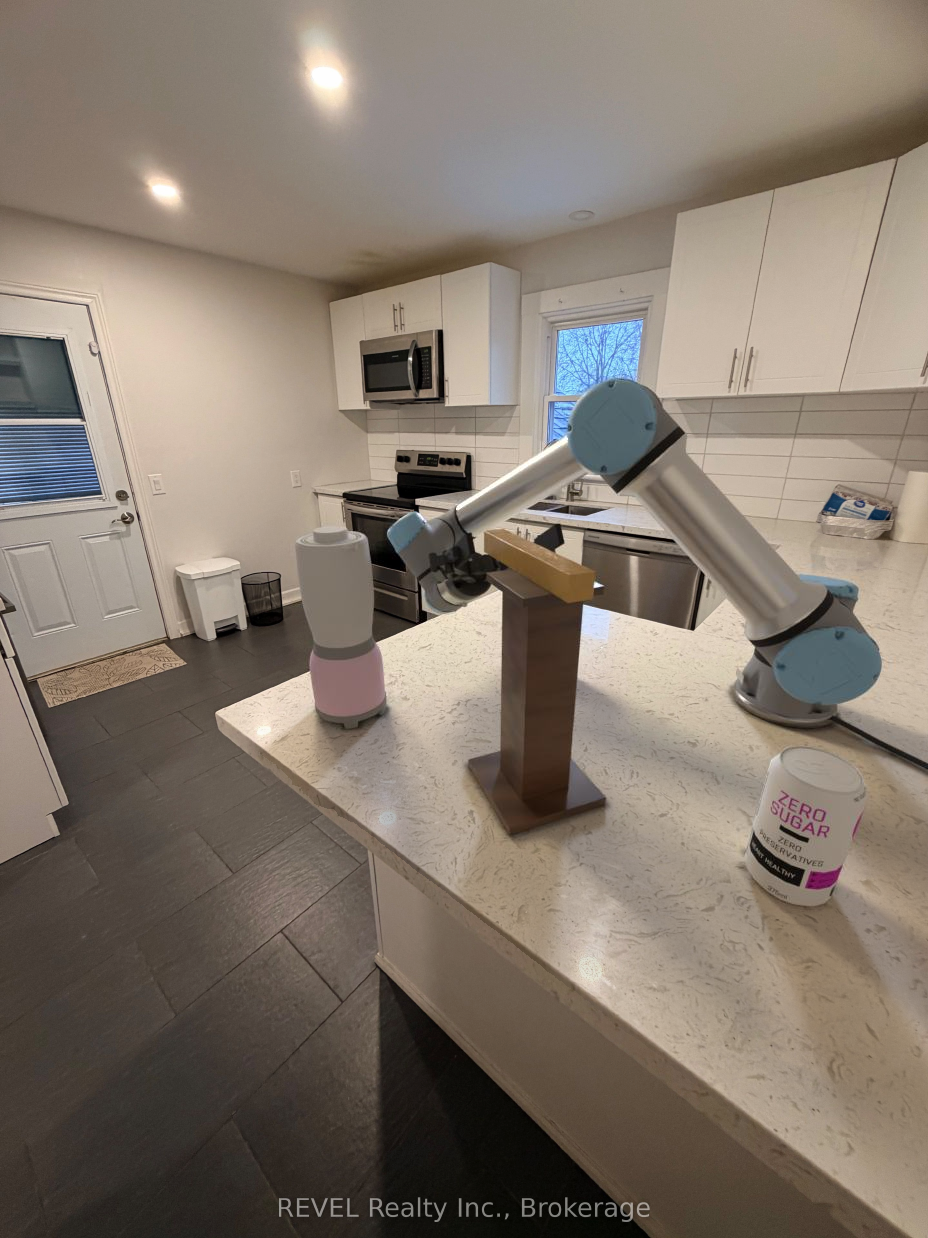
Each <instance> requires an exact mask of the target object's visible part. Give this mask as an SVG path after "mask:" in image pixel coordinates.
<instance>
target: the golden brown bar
mask: <svg viewBox="0 0 928 1238" xmlns="http://www.w3.org/2000/svg"><path fill="white" fill-rule="evenodd" d="M533 542H534V541H531V540H528V539H526V538H525V537H522V536H520V535H517V534H515V533H514V532H512V531H509V530H507V529H505V528H499V529H491V530H487V531H484V534H483V552H484V554H488V555H490V556H492V557H493V558H495V559H497V560H498V561H500V562H502V563H503V564H505V565H506V566H508V567H510V568H511V569H513V570H515V571H516V572H518V573H520V574H521V575H523V576H524V577H526V578H528V579H529V580H531V581H533V582H534V583H536V584H538V585H539V586H541V587H543V588H544V589H546V590H547V591H549V592H551V593H552V594H554V595H556V596H557V597H559V598H561V599H562V600H564V601H566V602H567V603H572V602H578V601H583V602H585V601H589V600H594V596H593V593H594V582H596V581H595V580H596V571H595V570H593V569H591V568H589V567H587V566H584V565H583V564H580V563H578V562H576V561H574V560H571V559H570V558H567V557H566V556H563V555H561V554H559V553H557V552H556V553H554V552H552V551H550V550H548V549H546V548H544V547H541V546H539V545H537V544H535V543H533Z"/></svg>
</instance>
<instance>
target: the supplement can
mask: <svg viewBox="0 0 928 1238" xmlns="http://www.w3.org/2000/svg"><path fill="white" fill-rule="evenodd" d="M868 794H869V792H868V789H867V787H866V784H865V777H864V776H863V774H862V772H861V771H860V769H859V768H858V767H857V766H855V765H854V764H853V763H852V762H851V761H850V760H847V759H846V758H845V757H843V756H841V755H839V754H836V753H834V752H831V751H829V750H827V749H825V748H820V747H815V746H812V745H803V744H802V745H801V744H800V745H799V744H798V745H797V744H796V745H790V746H786V747H784V748H783V749H782V750H780V753H778V754H776V756H774V757H773V758H771V760H770V761H769V765H768V768H767V771H766V776H765V779H764V783H763V787H762V791H761V794H760V798H759V802H758V805H757V809H756V813H755V815H754V819H753V823H752V826H751V827H752V828H751V830H750V834H749V838H748V841H747V846H746V849H745V853H744V857H743V858H744V862H745V867H746V869H747V871H748V872H749V874H750V876H751V877H752V878H753V879H754V881H756V883H757V884H758V885H759V886H761V888H762V889H764V890H765V891H766V892H767V893H769V894H770V895H772V896H774V897H775V898H777V899H779V900H781V901H784V902H786V903H789V904H792V905H796V906H804V907H815V906H820V905H825V904H826V902H828V900H830V899H831V898H832V895H833V893H834V890H835V887H836V886H837V885H836V884H837V882H838V879H839V877H840V874H841V872H842V869H843V867H844V864H845V861H846V858H847V856H848V853H849V850H850V848H851V845H852V842H853V840H854V837H855V835H856V832H857V829H858V828H859V824H860V821H861V819H862V816H863V813H864V811H865V809H866V806H867V803H868V796H869V795H868Z"/></svg>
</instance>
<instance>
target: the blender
mask: <svg viewBox="0 0 928 1238" xmlns="http://www.w3.org/2000/svg"><path fill="white" fill-rule="evenodd" d="M294 548H295V559H296V560H295V561H296V571H297V578H298V586H299V591H300V599H301V603H302V607H303V611H304V615H305V618H306V619H307V620H306V621H307V623H308V626H309V629H310V632H311V636H312V639H313V646H312V650H311V653H310V657H309V675H310V681H311V687H312V692H313V693H312V694H313V698H314V708H315V712H316V714H317V716H318V717H320V718H321V719H322V720H324V721H327V722H330V723H336V724H343V726H344V729H346V730H347V729H348V730H349V729H350V730H351V729H355V728H359V722H362V721H364V720H367V719H370V718H372V717H374V716H375V715H377V714H378V715H380V716H382V715H384V713H385V711H386V709H387V692H386V686H385V672H384V662H383V655H382V652H381V649H380V646H379V645H378V644H377V642H376V641H375V639H374V635H373V622H374V610H375V609H374V608H375V607H374V606H375V591H374V589H375V587H374V578H373V567H372V559H371V554H370V546H369V539H368V537H367V536H366V535H365V534H364V533H362V532H359V531H352V530H348V528H347V527H346V526H344V525H343V526H342V525H326V526H320V527H316V528H314V529H313V531H312V533H309V534H306V535H303V536H300V537H298V538H297V539H296V540H295V542H294Z"/></svg>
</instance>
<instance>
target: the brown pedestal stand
mask: <svg viewBox="0 0 928 1238" xmlns="http://www.w3.org/2000/svg"><path fill="white" fill-rule="evenodd" d="M486 580H487V581H488V582H489V583H491V584H492V585H491V586H493V587H494V588H496V589H497V590H499V591H500V592H501V593H502V599H501V600H502V601H501V668H500V669H501V673H500V741H499V742H500V745H499V746H500V747H499V749H500V750H499V751H494V752H491V753H487V754H483V755H479V756H475V757H472V758H468V759H467V764H468V765H467V766H468V768H469V769H470V771H471V773H472V775H473V776H474V779H475V780H476V781H477V783H478V784H479V786H480V788H481V790H482V791H483V793H484V795H485V797H486V798H487V800H488V802H489V804H490V805H491V807H492V809H493V811H494V812H495V814H496V815H497V817H498V819H499V820H500V822H501V824H502V825H503V827H504V829H505V831H506V832H507V834H508V836H512V835H515V834H519V833H521V832H525V831H527V830H531V829H533V828H536V827H540V826H543V825H546V824H549V823H552V822H556V821H558V820H561V819H565V818H567V817H571V816H574V815H578V814H580V813H583V812H587V811H590V810H592V809H593V810H594V809H596V808H599V807H603V806H605V805H606V803H607V797H606V796H605V794H604V793H603V792H602V791H601V790H600V789H599V787H597V786H596V784H594V782H593V781H592V780H591V779H590V777H588V776H587V774H585V773H584V771H583V770H582V769H581V768H580V767H579V766H578V765H577V764H576V762H574V760H573V759H572V751H573V750H572V748H573V736H574V725H575V723H574V722H575V712H576V699H577V698H576V697H577V685H578V675H579V664H580V663H579V662H580V651H581V640H582V639H581V637H582V636H581V635H582V625H583V614H584V613H583V611H584V601H578V602H572V603H567V602H566V601H564V600H562V599H561V598H559V597H557V596H556V595H554V594H552V593H551V592H549V591H547V590H546V589H544V588H543V587H541V586H539V585H538V584H536V583H534V582H533V581H531V580H529V579H528V578H526V577H524V576H523V575H521V574H520V573H518V572H516V571H515V570H513V569H511V570H503V571H495V572H488V573H486ZM604 593H605V586H604V585H603V584H600V583H598V582H597V581H595V582H594V593H593V597H597V596H598V597H599V596H603V595H605V594H604Z"/></svg>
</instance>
